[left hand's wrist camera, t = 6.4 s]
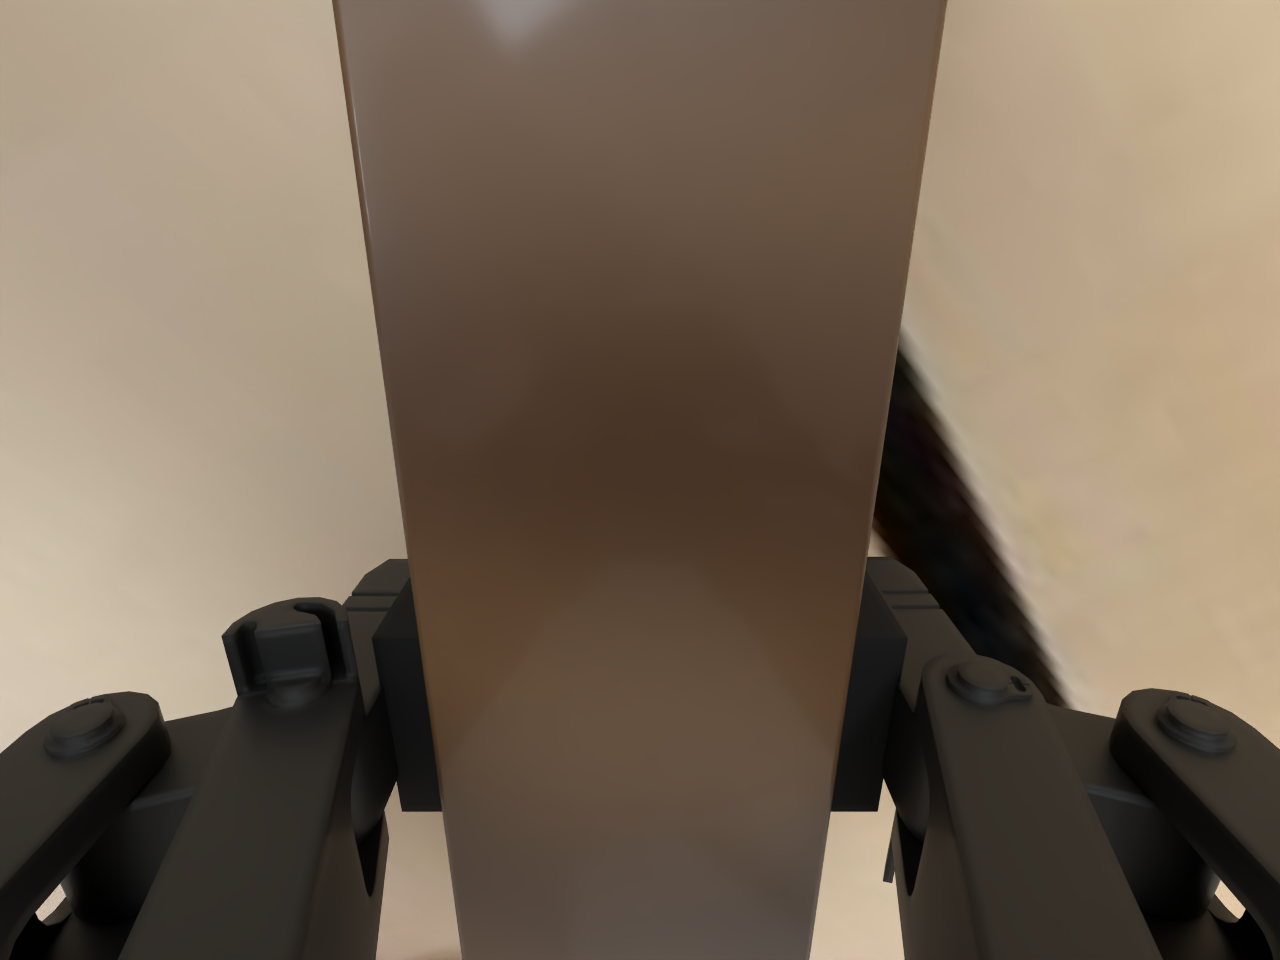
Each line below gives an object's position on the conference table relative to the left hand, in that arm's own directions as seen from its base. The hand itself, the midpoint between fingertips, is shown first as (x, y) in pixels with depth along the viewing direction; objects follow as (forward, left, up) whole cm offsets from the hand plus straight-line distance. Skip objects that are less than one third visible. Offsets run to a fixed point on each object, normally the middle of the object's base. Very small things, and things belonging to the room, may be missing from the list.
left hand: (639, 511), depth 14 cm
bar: (-3, +29, -1) cm, 29 cm away
